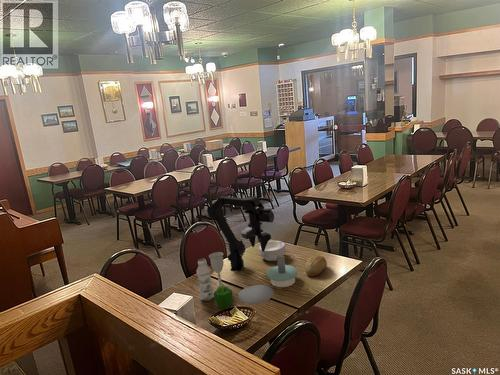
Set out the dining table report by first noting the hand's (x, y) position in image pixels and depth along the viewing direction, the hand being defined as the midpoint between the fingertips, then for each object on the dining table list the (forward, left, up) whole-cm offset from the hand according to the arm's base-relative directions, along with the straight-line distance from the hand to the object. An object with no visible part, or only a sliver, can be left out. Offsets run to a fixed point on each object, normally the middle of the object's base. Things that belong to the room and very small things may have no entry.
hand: (258, 249), depth 188 cm
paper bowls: (+5, +17, -13) cm, 22 cm away
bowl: (+13, -12, -13) cm, 22 cm away
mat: (+1, -24, -13) cm, 27 cm away
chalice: (-18, -17, -13) cm, 28 cm away
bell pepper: (-12, -33, -13) cm, 37 cm away
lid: (+13, -12, -8) cm, 20 cm away
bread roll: (+30, -2, -13) cm, 33 cm away
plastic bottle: (-22, -27, -13) cm, 37 cm away
